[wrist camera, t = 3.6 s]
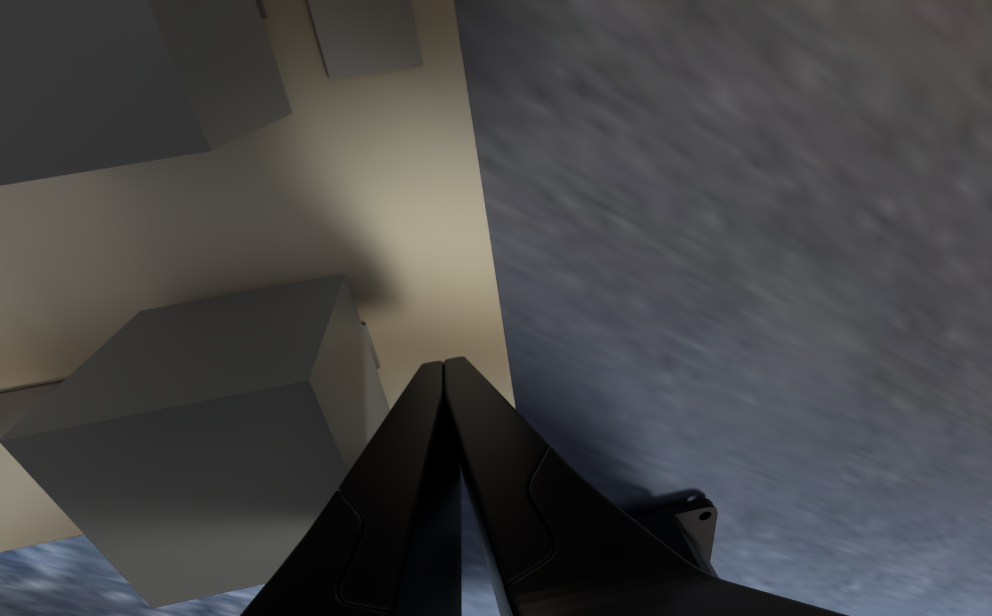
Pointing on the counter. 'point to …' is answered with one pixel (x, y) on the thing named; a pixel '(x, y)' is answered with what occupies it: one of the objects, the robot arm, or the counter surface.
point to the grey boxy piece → (209, 435)
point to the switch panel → (269, 221)
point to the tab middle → (129, 82)
